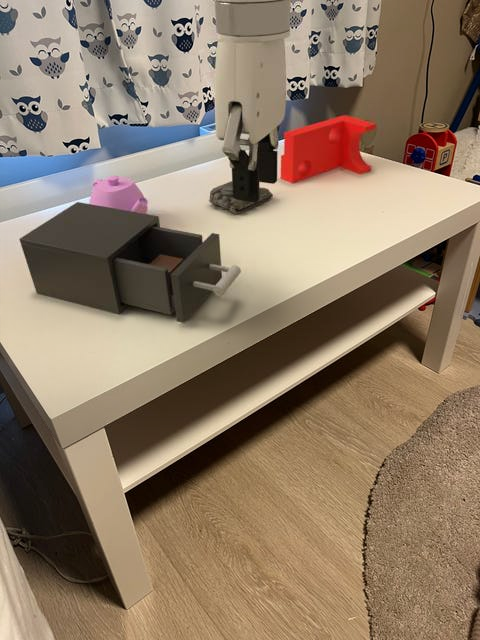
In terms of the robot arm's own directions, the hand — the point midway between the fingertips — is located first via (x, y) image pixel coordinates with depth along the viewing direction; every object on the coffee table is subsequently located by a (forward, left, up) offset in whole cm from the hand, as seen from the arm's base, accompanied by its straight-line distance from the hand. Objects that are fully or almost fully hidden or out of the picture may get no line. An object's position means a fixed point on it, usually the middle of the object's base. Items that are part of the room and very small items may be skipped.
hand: (255, 189), depth 64 cm
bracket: (+55, +6, -20) cm, 59 cm away
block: (0, +15, -17) cm, 23 cm away
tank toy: (+35, +18, -20) cm, 44 cm away
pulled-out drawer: (0, +13, -19) cm, 23 cm away
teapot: (+18, +35, -20) cm, 44 cm away
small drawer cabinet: (0, +27, -19) cm, 33 cm away
